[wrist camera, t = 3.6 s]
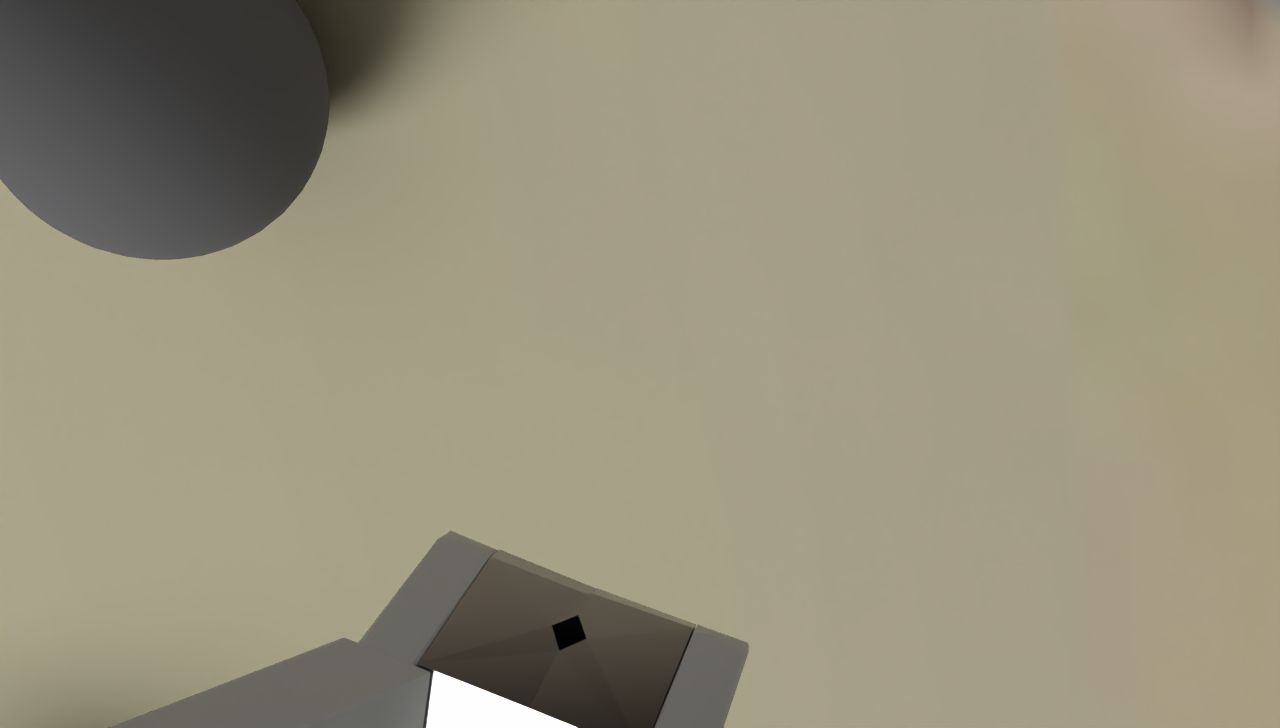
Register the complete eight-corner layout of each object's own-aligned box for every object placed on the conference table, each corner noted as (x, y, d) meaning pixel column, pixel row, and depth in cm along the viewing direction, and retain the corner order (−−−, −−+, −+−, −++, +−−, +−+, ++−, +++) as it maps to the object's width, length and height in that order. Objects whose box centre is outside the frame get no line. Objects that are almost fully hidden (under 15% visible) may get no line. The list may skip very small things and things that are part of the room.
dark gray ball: (130, 149, 23) (-96, 255, 18) (114, -142, 20) (-161, -102, 15) (377, 227, 22) (204, 359, 17) (397, -65, 19) (196, 1, 15)
